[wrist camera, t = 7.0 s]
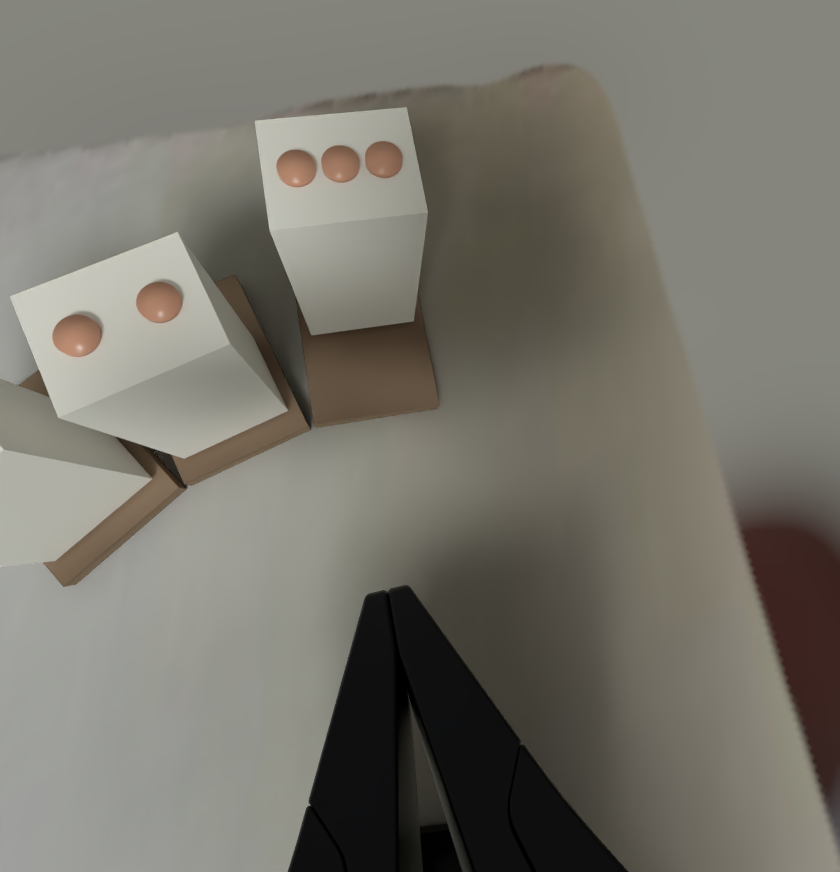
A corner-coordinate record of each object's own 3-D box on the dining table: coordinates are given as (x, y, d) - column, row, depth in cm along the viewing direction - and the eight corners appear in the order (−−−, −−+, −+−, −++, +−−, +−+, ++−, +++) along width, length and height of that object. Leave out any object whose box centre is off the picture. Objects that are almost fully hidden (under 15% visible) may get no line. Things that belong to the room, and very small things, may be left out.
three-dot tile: (413, 321, 22) (428, 208, 14) (311, 335, 22) (267, 226, 14) (399, 248, 23) (406, 101, 15) (300, 260, 23) (253, 115, 15)
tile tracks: (424, 254, 24) (426, 245, 24) (449, 553, 21) (452, 554, 21) (-22, 266, 22) (-36, 256, 22) (-59, 595, 20) (-78, 598, 19)
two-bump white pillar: (288, 410, 21) (227, 341, 13) (184, 458, 20) (53, 416, 12) (253, 337, 22) (174, 227, 14) (150, 381, 21) (3, 292, 13)
